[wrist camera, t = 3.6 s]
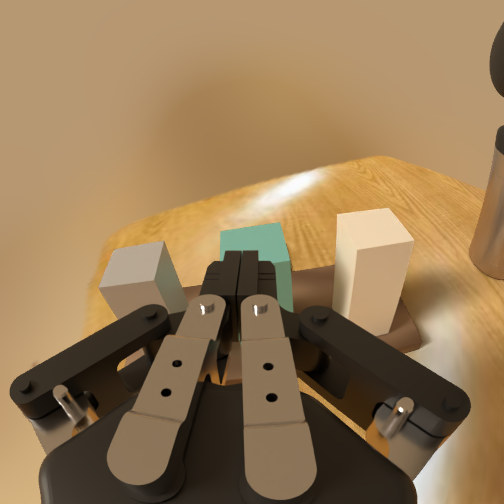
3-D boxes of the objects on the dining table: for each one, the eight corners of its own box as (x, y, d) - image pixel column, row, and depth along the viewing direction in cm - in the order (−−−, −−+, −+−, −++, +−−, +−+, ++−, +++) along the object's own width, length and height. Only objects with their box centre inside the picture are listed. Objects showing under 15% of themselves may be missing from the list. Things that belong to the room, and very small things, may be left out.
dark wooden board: (418, 348, 28) (422, 341, 27) (127, 390, 29) (121, 384, 28) (376, 265, 39) (378, 257, 38) (145, 300, 40) (141, 292, 39)
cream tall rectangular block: (388, 333, 28) (414, 240, 21) (343, 343, 28) (357, 249, 21) (373, 299, 32) (388, 207, 25) (331, 307, 32) (337, 214, 25)
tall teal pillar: (295, 352, 29) (290, 260, 21) (245, 359, 29) (219, 271, 21) (287, 314, 33) (279, 222, 25) (242, 321, 33) (220, 231, 25)
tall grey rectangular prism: (196, 364, 29) (154, 280, 21) (151, 367, 29) (98, 287, 22) (198, 326, 33) (164, 240, 25) (157, 330, 33) (114, 249, 26)
